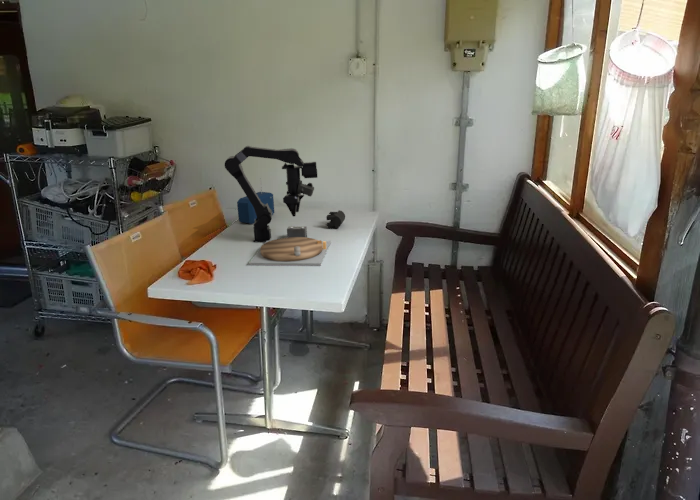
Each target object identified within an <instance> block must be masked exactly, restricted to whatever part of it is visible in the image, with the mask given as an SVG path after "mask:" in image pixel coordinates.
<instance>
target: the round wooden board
mask: <svg viewBox="0 0 700 500" xmlns="http://www.w3.org/2000/svg"><path fill="white" fill-rule="evenodd" d="M322 241H323V240H318V239H316V238H311V237H307V238H306V237H288V238H287V237H282V238H276V239H273V240H269V242H266V243H265V242H264V243H265V244H264V243H263V244H261V246H260V247H259V250H260V251H261V255H262V256H263V257H264V258H266V259H270V260H275V261H298V260H304V259H309V258H312V257H315V256H317V255H319V254H320V253H321V252H322V250H323V246H322Z"/></svg>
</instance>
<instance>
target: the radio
mask: <svg viewBox="0 0 700 500" xmlns="http://www.w3.org/2000/svg"><path fill="white" fill-rule="evenodd" d="M259 181H260V184H262V180H261V178H259ZM256 194H257V195H258V197H259V199H260V200H261V202H262V203H263V204H267V203H268V206H269V208H270V209H271V210H272V216H273V215H274V214H275V204H274V203H275V201H274V194H273V193H272V192H267V191H262V188H260V191H257V192H256ZM236 204H237V205H236V206H237V215H238V222H239V223H241V224H251V225H254V222H255V219H256V218H257V216H256V213H255V210H254V207H253V205H252V204H251V202H250V201H249V199H248V197H247V196H246V195H245V196H243V197H240V198H239V199H238V201H236Z"/></svg>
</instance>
